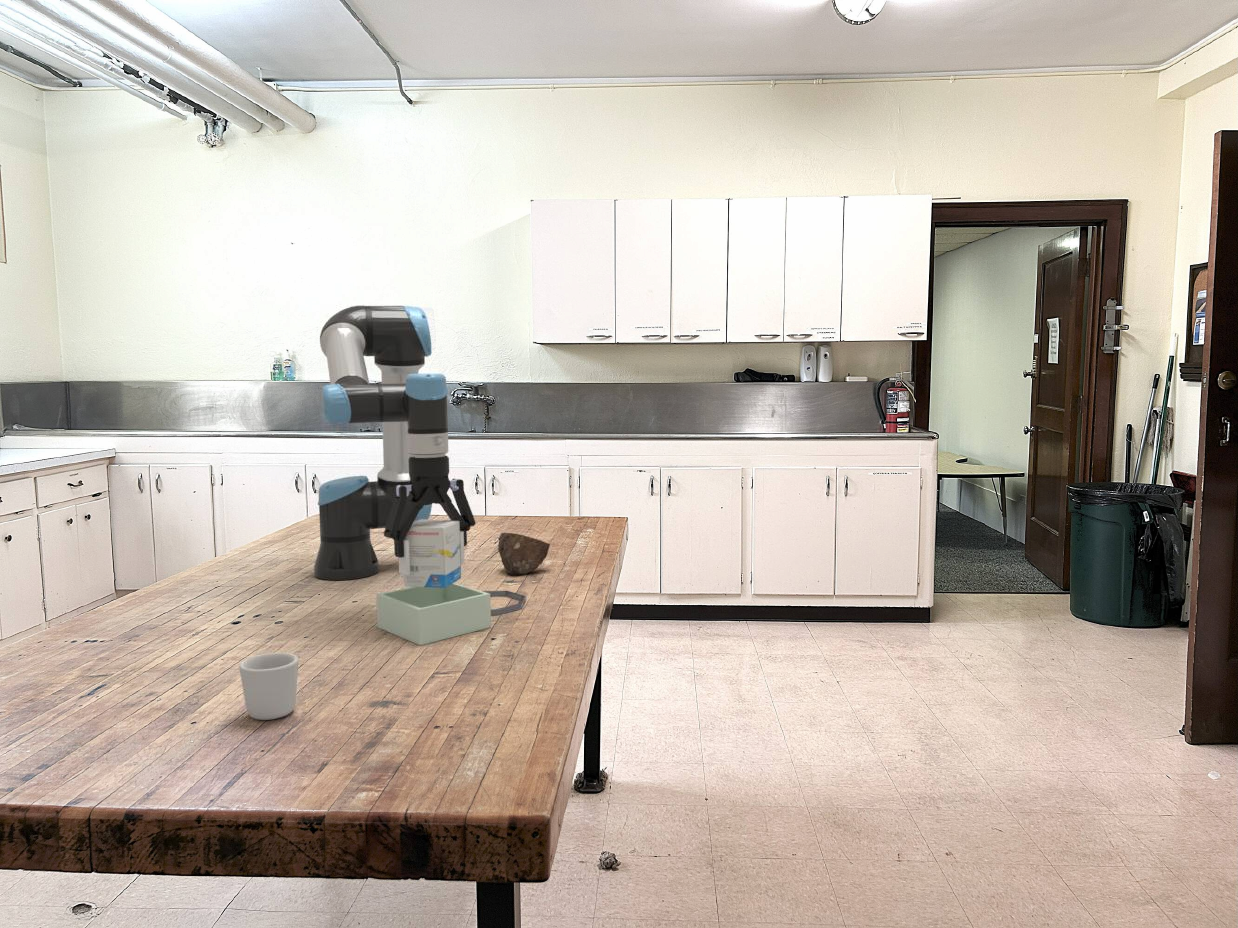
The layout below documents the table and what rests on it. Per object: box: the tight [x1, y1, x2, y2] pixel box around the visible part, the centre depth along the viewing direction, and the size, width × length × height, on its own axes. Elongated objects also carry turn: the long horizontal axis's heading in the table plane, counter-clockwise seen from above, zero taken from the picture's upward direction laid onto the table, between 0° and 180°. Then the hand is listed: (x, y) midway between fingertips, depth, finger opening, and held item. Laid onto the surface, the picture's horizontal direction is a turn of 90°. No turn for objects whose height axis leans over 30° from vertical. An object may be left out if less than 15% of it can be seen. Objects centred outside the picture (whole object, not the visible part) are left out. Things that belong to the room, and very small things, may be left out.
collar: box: [482, 590, 526, 616], centre depth 186 cm, size 16×16×1 cm
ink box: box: [403, 519, 462, 588], centre depth 169 cm, size 9×8×12 cm
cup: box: [238, 652, 299, 721], centre depth 130 cm, size 11×8×8 cm
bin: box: [375, 582, 492, 646], centre depth 170 cm, size 16×16×7 cm
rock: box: [497, 532, 551, 576], centre depth 213 cm, size 12×10×10 cm
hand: (432, 568), depth 169 cm, fingers closed on ink box, 11 cm apart
